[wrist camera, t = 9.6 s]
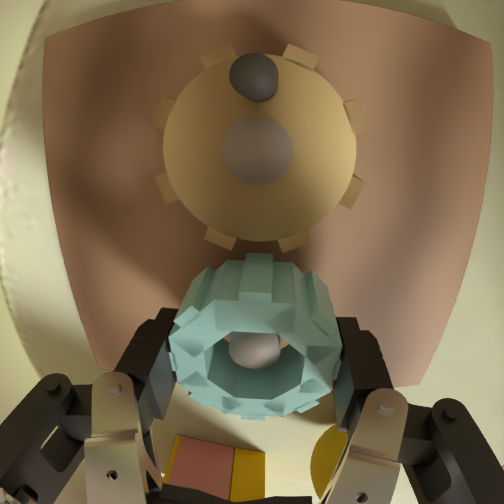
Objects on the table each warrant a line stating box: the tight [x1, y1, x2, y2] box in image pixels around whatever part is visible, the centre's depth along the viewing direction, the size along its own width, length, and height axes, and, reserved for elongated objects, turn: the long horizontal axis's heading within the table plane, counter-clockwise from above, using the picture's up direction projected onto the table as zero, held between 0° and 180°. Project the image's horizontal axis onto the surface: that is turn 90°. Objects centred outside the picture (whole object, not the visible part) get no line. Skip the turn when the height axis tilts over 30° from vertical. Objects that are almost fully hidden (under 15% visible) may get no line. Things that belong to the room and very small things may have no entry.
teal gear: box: [168, 253, 342, 420], centre depth 11 cm, size 6×6×2 cm
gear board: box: [43, 0, 493, 391], centre depth 11 cm, size 19×18×6 cm
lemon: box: [310, 424, 348, 499], centre depth 16 cm, size 6×6×8 cm
